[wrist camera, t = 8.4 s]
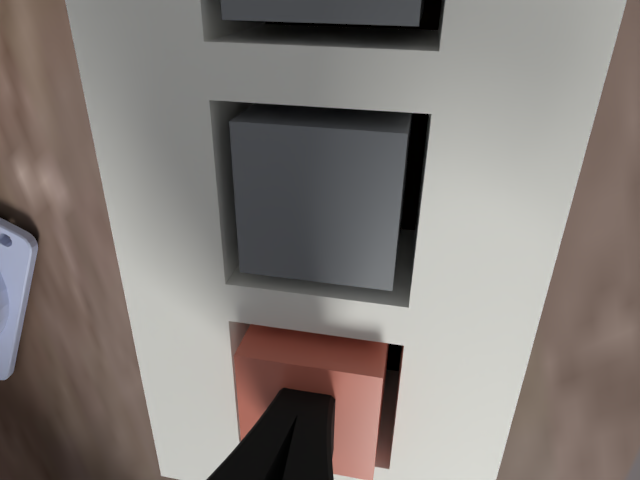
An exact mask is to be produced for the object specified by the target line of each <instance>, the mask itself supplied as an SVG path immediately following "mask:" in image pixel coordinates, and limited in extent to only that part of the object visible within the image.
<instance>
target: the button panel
mask: <svg viewBox="0 0 640 480" xmlns="http://www.w3.org/2000/svg"><path fill="white" fill-rule="evenodd" d="M626 1H627V0H442V1H441V9H440V18H439V26H438V30H423V29H394V28H365V27H336V26H307V25H278V24H265V21H241V20H222V13H221V0H65V2H66V7H67V12H68V17H69V22H70V27H71V32H72V37H73V42H74V47H75V52H76V57H77V62H78V66H79V71H80V76H81V81H82V86H83V91H84V96H85V101H86V106H87V111H88V116H89V121H90V126H91V131H92V136H93V141H94V146H95V150H96V155H97V160H98V165H99V170H100V175H101V180H102V185H103V190H104V195H105V200H106V205H107V210H108V215H109V220H110V225H111V230H112V235H113V239H114V244H115V249H116V254H117V259H118V264H119V269H120V274H121V279H122V284H123V289H124V294H125V299H126V304H127V309H128V314H129V319H130V323H131V328H132V333H133V338H134V343H135V348H136V353H137V358H138V363H139V368H140V373H141V378H142V383H143V388H144V393H145V398H146V403H147V407H148V412H149V417H150V422H151V427H152V432H153V437H154V442H155V447H156V452H157V457H158V462H159V467H160V472H161V476H164V477H169V478H174V479H179V480H206V479H207V478H208V477H209V476H210V475H211V474H212V473H213V472H214V471H215V470H216V469H217V468H218V467H219V465H220V464H221V463H222V462H223V461H224V460H225V459H226V458H227V457H228V456H229V455H230V453H231V452H232V451H233V450H234V449H235V448H236V446H237V445H238V444H239V443H240V442H241V434H240V422H239V411H238V399H237V387H236V376H235V364H234V354H235V352H236V350H237V348H238V347H239V345H240V343H241V341H242V339H243V337H244V335H245V333H246V331H247V330H248V328H249V326H250V324H254V325H261V326H268V327H275V328H282V329H290V330H297V331H304V332H311V333H318V334H325V335H332V336H339V337H346V338H354V339H361V340H368V341H375V342H382V343H389V344H396V345H401V354H400V363H399V371H394V370H386V379H385V388H384V396H383V404H382V412H381V420H380V428H379V436H378V444H377V453H376V461H375V469H374V477H373V480H496V478H497V474H498V471H499V467H500V463H501V460H502V456H503V452H504V449H505V445H506V441H507V438H508V434H509V430H510V427H511V423H512V419H513V416H514V412H515V408H516V405H517V401H518V397H519V394H520V390H521V386H522V383H523V379H524V375H525V372H526V368H527V364H528V361H529V357H530V353H531V350H532V346H533V342H534V339H535V335H536V331H537V328H538V324H539V320H540V317H541V313H542V309H543V306H544V302H545V298H546V295H547V291H548V287H549V284H550V280H551V276H552V273H553V269H554V265H555V262H556V258H557V254H558V251H559V247H560V243H561V240H562V236H563V232H564V229H565V225H566V221H567V218H568V214H569V210H570V207H571V203H572V199H573V196H574V192H575V188H576V185H577V181H578V177H579V174H580V170H581V166H582V163H583V159H584V155H585V152H586V148H587V144H588V140H589V137H590V133H591V129H592V126H593V122H594V118H595V115H596V111H597V107H598V104H599V100H600V96H601V93H602V89H603V85H604V82H605V78H606V74H607V71H608V67H609V63H610V60H611V56H612V52H613V49H614V45H615V41H616V38H617V34H618V30H619V27H620V23H621V19H622V16H623V12H624V8H625V5H626ZM254 103H263V104H279V105H295V106H311V107H327V108H343V109H359V110H375V111H391V112H407V113H423V114H428V121H427V130H426V139H425V147H424V156H423V164H422V173H421V182H420V190H419V199H418V207H417V216H416V225H415V230H408V229H401V232H400V239H399V246H398V254H397V261H396V268H395V276H394V283H393V290H392V291H387V290H379V289H371V288H363V287H354V286H346V285H338V284H330V283H322V282H314V281H306V280H298V279H289V278H281V277H273V276H265V275H257V274H249V273H241V272H240V268H239V254H238V240H237V226H236V212H235V198H234V183H233V169H232V155H231V141H230V127H229V121H230V120H232V119H233V118H235V117H236V116H237V115H239V114H240V113H242V112H243V111H244V110H246V109H247V108H249V107H250V106H252V105H253V104H254ZM333 477H334V480H363V479H358V478H352V477H347V476H342V475H336V474H333Z"/></svg>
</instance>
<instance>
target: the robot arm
mask: <svg viewBox="0 0 640 480" xmlns="http://www.w3.org/2000/svg"><path fill="white" fill-rule="evenodd" d="M8 236H9V237H10V238H9V237H8ZM37 251H38V243H37V241H36V239H35V238H34V236H33V235H32V234H30V233H29V232H27V231H25V230H23V229H21V228H19V227H18V226H16V225H14V224H12V223H10V222H8V221H6V220H4V219H2V218H0V380H6V379H7V378H9V377H10V376H11V375H12V374H13V372H14V367H15V362H16V357H17V352H18V347H19V342H20V337H21V332H22V327H23V322H24V317H25V312H26V307H27V302H28V297H29V292H30V286H31V281H32V276H33V271H34V266H35V261H36V256H37ZM334 425H335V399H334V398H333V396H332V395H327V394H320V393H314V392H308V391H301V390H295V389H289V388H282V389H281V390H279V392H278V393H277V395H276V396H275V398H274V399H273V401H272V402H271V403H270V405H269V406H268V408H267V409H266V410H265V412H264V413H263V414H262V416H261V417H260V418H259V420H258V421H257V422H256V423H255V425H254V426H253V427H252V429H251V430H250V431H249V432H248V433H247V435H246V436H245V437H244V438H243V439H242V441H241V442H240V443H239V444H238V445H237V446H236V448H235V449H234V450H233V451H232V452H231V453H230V455H229V456H228V457H227V458H226V459H225V460H224V461H223V462H222V463H221V464H220V465H219V467H218V468H217V469H216V470H215V471H214V472H213V473H212V474H211V475H210V476H209V477H208V478H207V479H206V480H334V477H333V464H332V458H333V451H334Z"/></svg>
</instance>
